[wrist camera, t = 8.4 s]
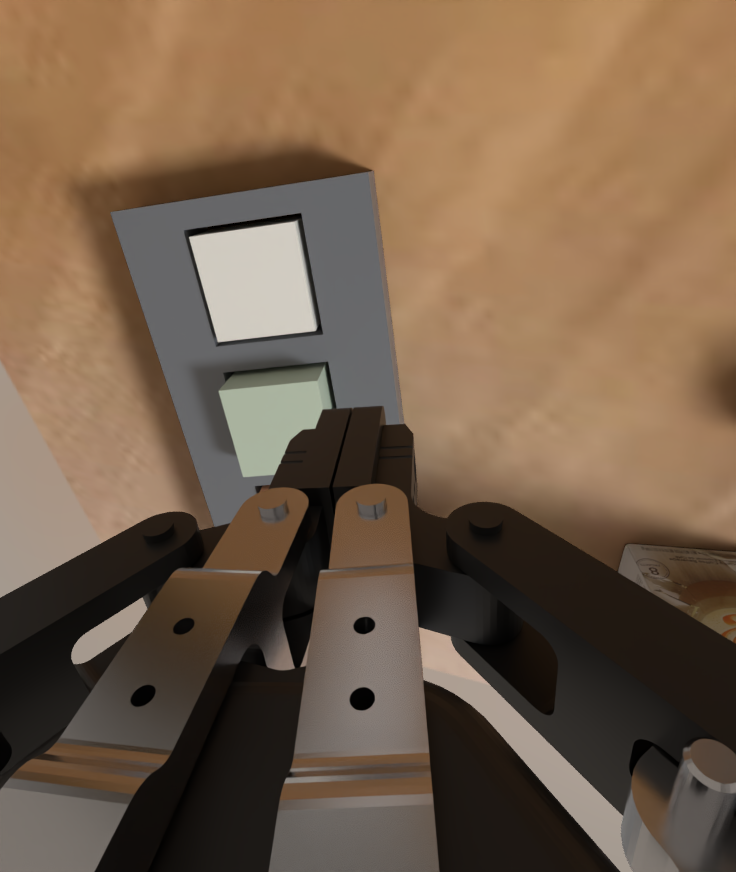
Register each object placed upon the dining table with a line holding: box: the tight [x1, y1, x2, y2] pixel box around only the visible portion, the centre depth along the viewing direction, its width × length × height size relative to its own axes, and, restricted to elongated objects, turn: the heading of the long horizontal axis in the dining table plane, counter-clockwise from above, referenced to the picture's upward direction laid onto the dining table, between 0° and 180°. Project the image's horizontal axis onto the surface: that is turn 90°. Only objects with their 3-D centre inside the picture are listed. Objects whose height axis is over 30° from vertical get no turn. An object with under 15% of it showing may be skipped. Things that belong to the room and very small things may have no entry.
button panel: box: [110, 171, 404, 527], centre depth 30 cm, size 22×12×3 cm, turn 8°
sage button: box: [219, 362, 337, 477], centre depth 28 cm, size 5×5×3 cm
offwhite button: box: [189, 216, 321, 342], centre depth 26 cm, size 5×5×3 cm
